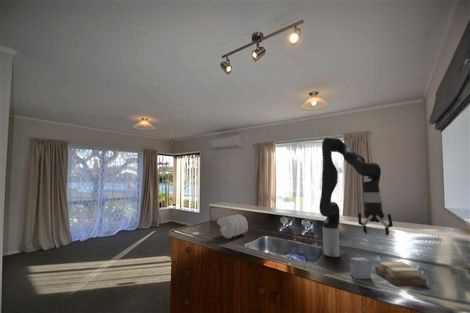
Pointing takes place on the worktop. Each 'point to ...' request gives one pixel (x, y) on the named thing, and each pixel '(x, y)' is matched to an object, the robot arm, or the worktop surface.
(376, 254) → the worktop surface
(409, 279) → the plinth
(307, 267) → the worktop surface
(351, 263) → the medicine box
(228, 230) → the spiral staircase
